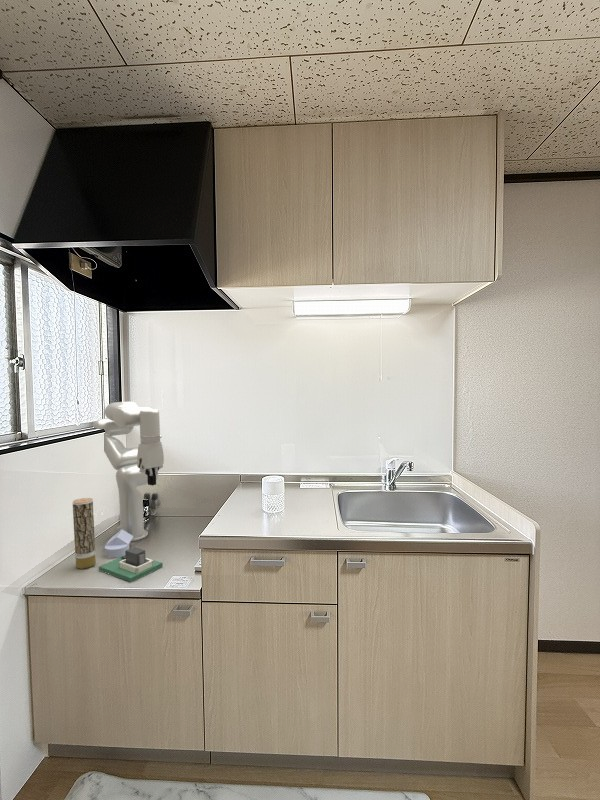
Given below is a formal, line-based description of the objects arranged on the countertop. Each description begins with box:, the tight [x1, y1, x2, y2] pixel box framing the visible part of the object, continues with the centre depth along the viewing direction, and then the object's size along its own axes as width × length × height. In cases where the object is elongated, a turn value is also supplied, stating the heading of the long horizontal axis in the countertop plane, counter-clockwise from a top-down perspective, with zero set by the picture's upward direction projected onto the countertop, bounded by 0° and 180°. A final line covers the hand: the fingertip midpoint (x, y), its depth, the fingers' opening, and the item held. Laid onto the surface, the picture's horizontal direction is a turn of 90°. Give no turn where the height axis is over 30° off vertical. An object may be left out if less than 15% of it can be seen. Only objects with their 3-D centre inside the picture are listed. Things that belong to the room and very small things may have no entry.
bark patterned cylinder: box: [72, 497, 97, 570], centre depth 170 cm, size 7×7×25 cm
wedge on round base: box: [104, 530, 133, 559], centre depth 184 cm, size 9×7×13 cm
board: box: [98, 555, 163, 583], centre depth 168 cm, size 18×14×4 cm
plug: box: [125, 546, 147, 567], centre depth 166 cm, size 7×4×6 cm, turn 58°
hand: (152, 484), depth 183 cm, fingers closed
